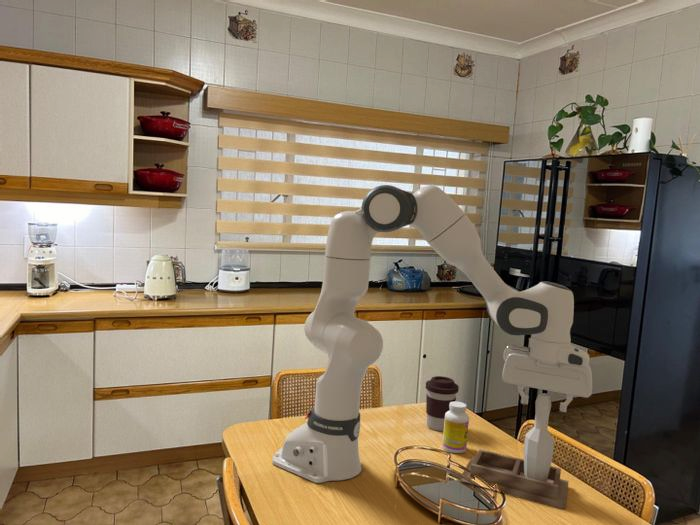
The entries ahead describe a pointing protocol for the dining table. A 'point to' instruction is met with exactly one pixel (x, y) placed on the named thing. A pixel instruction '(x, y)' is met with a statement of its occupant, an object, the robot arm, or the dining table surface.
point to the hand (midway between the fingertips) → (543, 407)
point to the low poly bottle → (539, 442)
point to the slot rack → (518, 478)
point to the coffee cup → (439, 400)
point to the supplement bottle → (456, 428)
